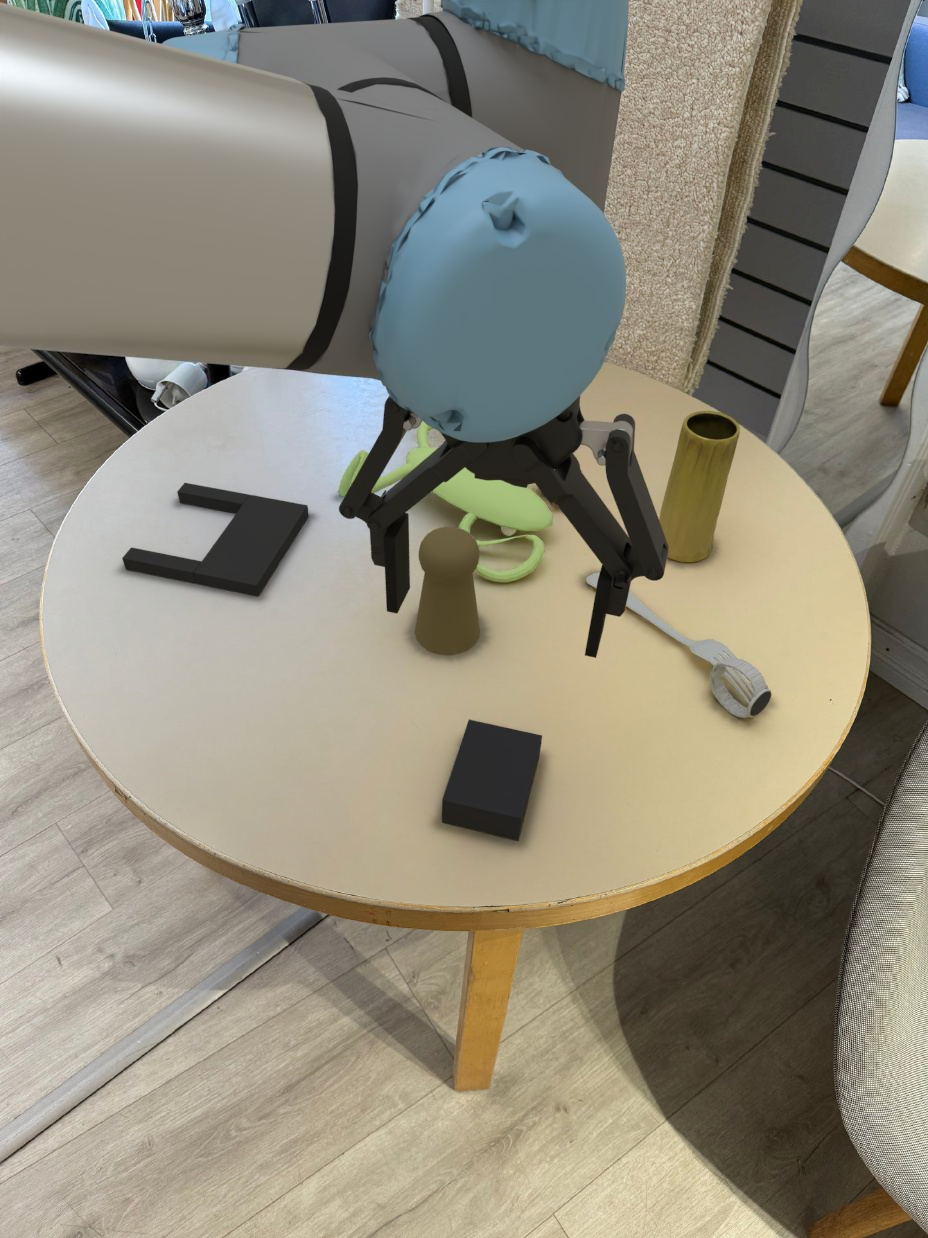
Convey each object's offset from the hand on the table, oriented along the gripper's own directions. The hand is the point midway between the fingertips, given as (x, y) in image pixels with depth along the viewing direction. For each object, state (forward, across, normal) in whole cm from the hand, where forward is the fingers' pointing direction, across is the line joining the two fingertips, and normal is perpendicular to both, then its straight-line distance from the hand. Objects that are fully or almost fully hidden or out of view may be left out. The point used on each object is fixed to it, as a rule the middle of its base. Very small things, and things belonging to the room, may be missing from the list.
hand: (494, 621), depth 61 cm
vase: (+17, -12, -34) cm, 40 cm away
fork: (+17, -12, -20) cm, 29 cm away
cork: (+17, +7, -14) cm, 23 cm away
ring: (+17, -19, -13) cm, 28 cm away
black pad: (+17, +32, -19) cm, 41 cm away
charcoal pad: (+17, -1, +2) cm, 17 cm away
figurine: (+17, +12, -34) cm, 40 cm away
